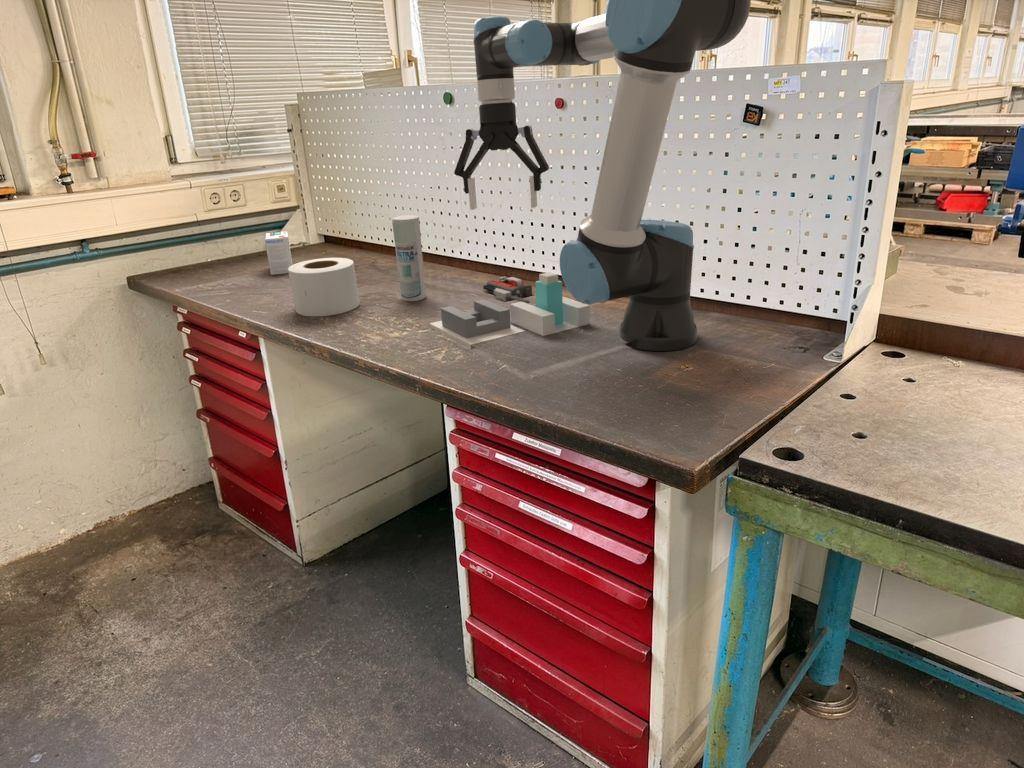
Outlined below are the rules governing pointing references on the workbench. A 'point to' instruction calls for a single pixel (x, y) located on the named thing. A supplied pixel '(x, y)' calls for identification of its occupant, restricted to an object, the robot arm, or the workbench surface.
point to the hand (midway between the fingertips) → (503, 208)
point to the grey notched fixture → (475, 323)
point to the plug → (550, 295)
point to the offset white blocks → (550, 317)
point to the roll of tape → (324, 286)
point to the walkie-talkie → (509, 289)
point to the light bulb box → (278, 252)
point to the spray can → (409, 257)
